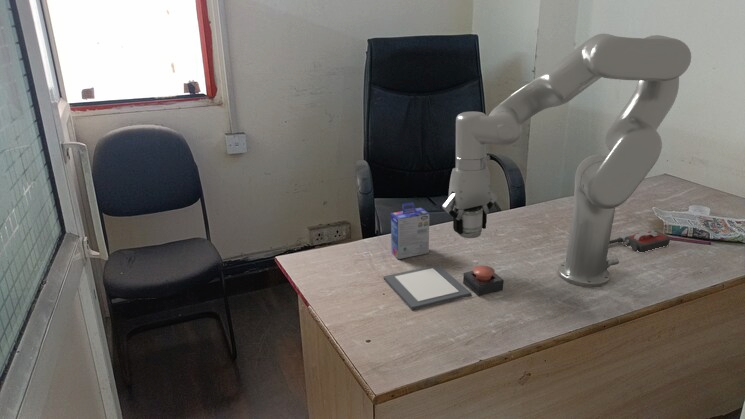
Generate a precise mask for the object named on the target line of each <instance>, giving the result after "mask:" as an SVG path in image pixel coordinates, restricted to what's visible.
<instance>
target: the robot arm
mask: <svg viewBox="0 0 745 419" xmlns="http://www.w3.org/2000/svg"><path fill="white" fill-rule="evenodd" d="M691 62H692V52H691V49H690V48H689V46H688V45H687V44H686V43H685V42H684V41H682V40H681V39H677V38H673V37H669V36H665V35H659V34H655V35H649V36H645V37H643V38H642V37H641V38H640V37H626V36H617V35H612V34H609V33H599V34H596V35H593V36H591V37H590V38H588V39H587V40H586V41H584V42H583V43H582V44H581V45H579V46H578V47H577V48H575V49H574V50H573V51H571V52H570V53H568V54H567V56H565V57H564V58H563V59H560V61H559V62H557V63H556V64H555V65H554V66H552V67H551V68H549V69H547V71H545V72H544V73H543V74H541V75H539V76H538V77H535V78H534V79H533V80H532V81H531V82H529V83H527V84H525V85H524V86H522V87H520V88H519V89H518V90H516V91H515V92H513V93H512V94H510V95H509V96H508V97H507V98H506V99H504V100H503V101H502V102H500V103H499V104H498V105H497V106H495V107H494V108H493V109H492V110H491V112H490V113H489V114H488V115H487V114H485V113H484V112H481V111H473V110H472V111H463V112H461V113H459V114H457V116H456V117H455V167H453V168H452V171H451V174H450V178H449V184H448V185H449V186H448V187H449V188H448V198H447V200H446V201H445V202H444V203H443V204H442V206H441V207H442V209H443V210H444V212H446V213H447V214H448V215H450V216H451V217H452V220H453V222H452V226H453V227H452V228H453V231H454V232H455V233H457V234H462V233H463V220H462V219H461V216H462V214H463V211H464V209H468V208H473V207H477V206H481V207H482V209H483V216H482V230H485V229H487V219H488V217H487V215H488V214H489V212H490V210H491V208H492V207H493V206H494V203H495V202H496V201H497V200H498V196H497V195H496V194H495V193H494V192H493V191H492V187H491V186H492V185H491V183H492V182H491V175H490V169H489V166H487V165H488V164H487V163H488V162H489V161H490V160H491V156H490V155H489V154H488V145H495V146H500V147H501V146H502V147H504V146H505V147H507V146H511V145H513V144H515V143H516V142H518V140H520V138H521V135H522V130H523V127H522V124H524V123H525V122H526V121H527V120H529V119H530V118H531V117H534V116H535V115H537V114H538V113H540V112H542V111H544V110H547V109H550V108H555V107H559V106H562V105H565V104H567V103H568V102H570V101H571V100H573V99H574V98H576V97H577V96H578V95H579V94H580V93H582V92H583V91H585V90H587V88H589V87H590V86H591V85H593V84H594V83H596V82H597V81H599V80H600V79H601V78H604V79H610V80H623V81H637V83H636V87H635V89H634V91H633V94H632V95H631V97H630V98H629V100H628V101H627V103H626V105H625V106H624V107H623V109H622V110H621V112H619V114H618V115H617V116H616V118H615V120H614V121H613V122H612V124H611V125H610V127H609V128H608V130H607V131H606V132H605V133H606V134H605V137H604V140H605V141H604V142H605V145H606V147H607V149H608V150H609V153H608V154H607V155H603V154H593V155H590V156H588V157H586V158H584V159H583V160H582V161H581V162H580V163H579V165H578V166H577V168H576V171H575V175H574V191H573V192H574V193H573V194H574V195H573V204H572V205H573V206H572V214H571V220H570V226H569V227H570V228H569V235H568V236H569V237H568V240H567V242H568V243H567V249H566V256H565V261H564V262H561V263H560V264H559V265H558V268H557V273H558V275H559V276H560V277H561V279H563V280H565V281H566V282H568V283H570V284H573V285H576V286H581V287H587V288H589V287H590V288H591V287H592V288H593V287H594V288H595V287H601V286H605V285H607V284H608V283H610V280H611V274H610V272H609V270H608V269H609V268H610V267H611V266H617V265H619V263H620V259H619V258H618V257H617V256H615V257H610V258H608V254H609V253H608V252H609V248H610V244H609V242H610V240H611V236H612V235H611V234H612V229H613V223H614V218H615V212H616V208H617V207H619V206H621V205H623V204H624V203H625V202H626V201H627V200H628V199H629V198H630V197H631V196H632V195H633V193H634V192H635V191H636V189H637V188H638V187H639V186H640V185H641V183H642V182H643V181H644V179H645V178H646V176H647V175H648V174H649V172H650V171H651V170H652V169H653V167H654V166H655V164H657V162H658V160H659V157H660V155H661V153H662V148H663V142H662V138H661V135H660V134H659V132H658V131H657V130H658V128H659V127H660V125H661V124H662V122H663V121H664V119H665V118H666V117H667V115H668V113H670V112H669V111H671V109H672V107H673V105H674V103H675V102H676V99H677V98H678V94H679V89H680V88H679V87H680V77H681V76H682V75H683V74H685V72H686V71H687V70H688V68H689V67H690V64H691ZM452 206H453V209H452ZM458 209H459V210H458Z"/></svg>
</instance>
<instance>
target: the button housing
mask: <svg viewBox="0 0 745 419" xmlns="http://www.w3.org/2000/svg"><path fill="white" fill-rule="evenodd" d="M462 281H463V282H462V285H465V286H466V287H467V288H468V289H469V291H470V290H471V291H472V292H473V293H474V294H475V295H476V296H477V297H481V296H482V297H483V296H486V295H489V294H495V293H498V292H502V291H503V290H504V283H505V282H504V281H505V280H504V279H503V277H501V276H499V275H498V274H497V273H496V272H495V274H494V275H493V276H492V277H491V280H487V281H483V282H480V281H479V280H478V279H477V278H476V275H475V274H474V273H473V270H470V271H465V272H463V280H462Z"/></svg>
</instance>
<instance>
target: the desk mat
mask: <svg viewBox="0 0 745 419" xmlns="http://www.w3.org/2000/svg"><path fill="white" fill-rule="evenodd" d="M383 280H384V282H386V284H387V285H388V286H389V287H390V289H391V290H393V292H394V293H396V295H397V296H398V297H399V298H400V299H401V300H402V301H403V303H405V305H406V306H407V307H408V308H409V309H410V310H411V311H414V310H418V309H422V308H426V307H427V308H428V307H430V306H434V305H439V304H443V303H446V302H451V301H455V300H459V299H463V298H467V297H471V296H472V292H471V291H470V290H468V289H467V288H466V287H465V286H464V284H462V283H461V282H459V281H458V280H457V279H456V278H455V277H453V275H451V274H450V273H449V272H448V271H447V270H445V269H444V268H443V267H441V265H439V264H436V265H435V264H434V265H431V266H425V267H420V268H417V269H413V270H412V269H411V270H408V271H403V272H398V273H394V274H393V273H391V274H388V275H384V276H383Z"/></svg>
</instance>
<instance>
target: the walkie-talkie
mask: <svg viewBox="0 0 745 419" xmlns="http://www.w3.org/2000/svg"><path fill="white" fill-rule="evenodd" d="M670 241H671V238H670V236H668V235H666V234H664V233H662V232H660V231H657V230H650V231H641V232H637V233H632V232H631V233H629V232H628V233H627V234H626V233H625V234H620V235H618V237H617V238H615V239H610V242H609V245H612V244H616V243H617V244H618V243H621V242H623V243H622V245H623V244H624V245H627V246H631V247H632V251H633V250H634V252H637V250H638V251H639V252H644V253H646V252H645V251H648V250H652V249H655V248H659V247H663V246H667V245H668V246H669V244H670ZM624 245H623V246H624ZM627 246H626V247H627ZM652 251H653V250H652ZM639 252H638V253H639ZM648 252H649V251H648Z"/></svg>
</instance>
